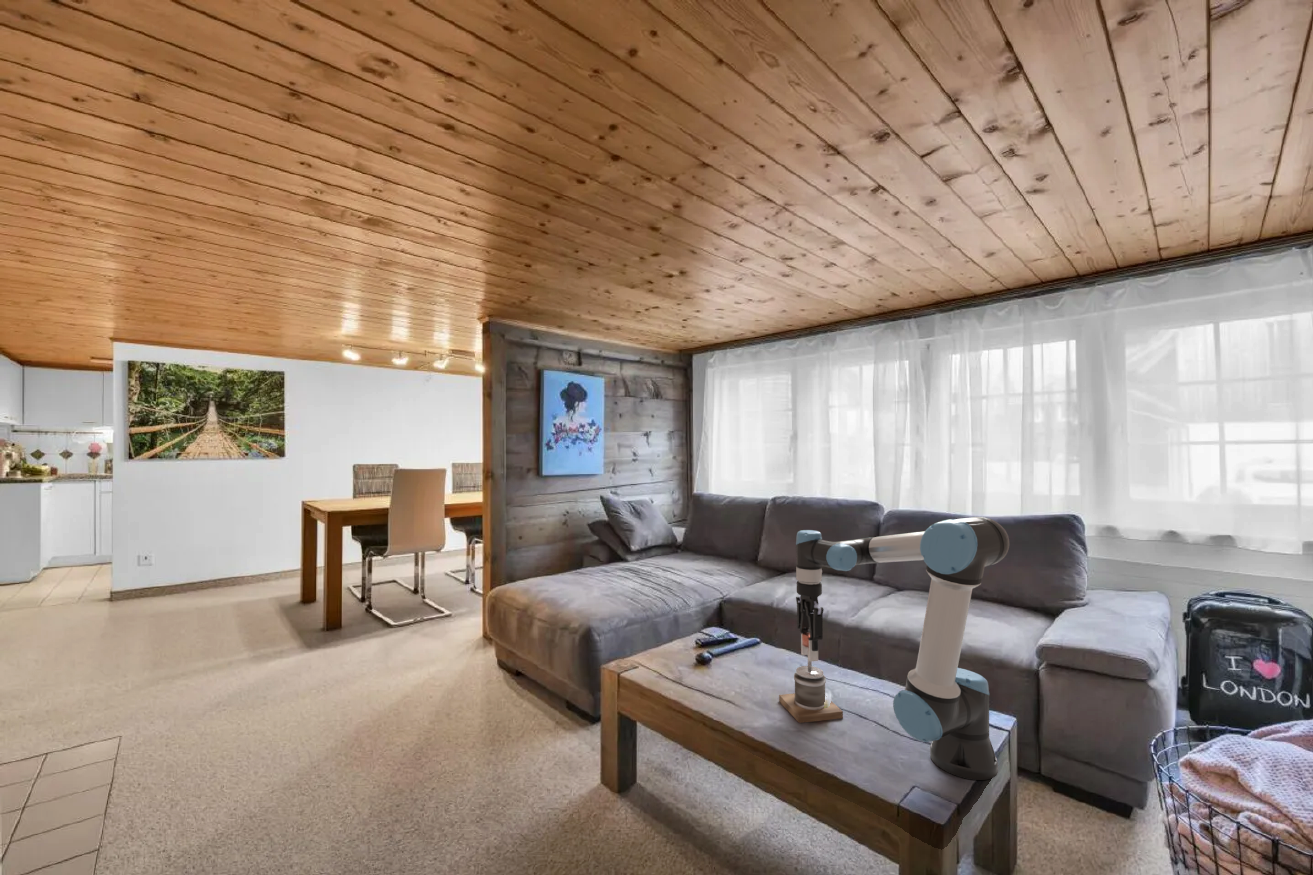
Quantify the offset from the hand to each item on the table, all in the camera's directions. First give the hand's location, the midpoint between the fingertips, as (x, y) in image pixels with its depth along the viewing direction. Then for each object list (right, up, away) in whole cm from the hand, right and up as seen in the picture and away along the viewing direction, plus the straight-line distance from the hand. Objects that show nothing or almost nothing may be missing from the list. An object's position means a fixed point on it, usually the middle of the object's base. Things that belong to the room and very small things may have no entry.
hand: (809, 657), depth 170 cm
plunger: (0, -5, 0) cm, 5 cm away
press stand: (0, -16, 0) cm, 16 cm away
